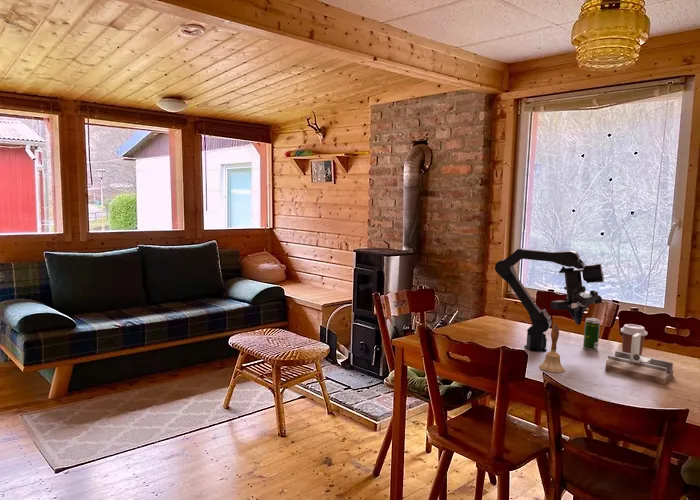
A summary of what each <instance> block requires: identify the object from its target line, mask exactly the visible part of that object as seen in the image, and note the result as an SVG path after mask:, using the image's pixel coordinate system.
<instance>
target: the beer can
mask: <svg viewBox="0 0 700 500" xmlns="http://www.w3.org/2000/svg"><path fill="white" fill-rule="evenodd" d="M600 326H601V322H600V319H598V318H595V317H586V318H585V321H584V333H583V334H584V335H583V344H582V345H583V346H582V347H583V348H584V349H585V350H587V351H598V349H599V340H600V331H601V329H600Z"/></svg>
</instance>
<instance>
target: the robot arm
mask: <svg viewBox="0 0 700 500" xmlns="http://www.w3.org/2000/svg"><path fill="white" fill-rule="evenodd" d="M521 260H530V261H531V260H532V261H540V262H542V261H543V262H549V263H555V264H557V265H561V266H562V267H561V269H559V271H558V274H564V282H565V286H563V289H564V290H565V291H566V297H565V300H562V299H559V300H558V299H557V300H552V301H551V302H550V305H549V306H550V309H551V310H556V311H563V310H566V311H567V312H568V313H569V314H570V316H571V317H572V319H573V321H574V322H575V324H576V325H577V326H580V325H581V324H582V321H583V318H584V316H583V315H584V313H585V311H586V310H587V309H588V308H590V305H594V304H595V305H597V304H598V305H599V304H602V303H603V298H602V296H601V295H599V292H598V290H596V289H593V290H590V291H589V290H588V291H587V289H586V287H585V285H583V281H584V282H586V283H587V284H591V283H593V284H595V283H596V284H597V283H604V282H605V277H604V271H603V268H602V264H601V263H596V264H586V263H585V262H584V261H583V260H582V259H581V258H580V254H579V253H578V252H577V251H576V250H571V249H570V250H561V251H560V250H559V251H550V250H549V251H547V250H538V249H537V250H536V249H526V248H523V247H520V248H517V249H516V250H515V251H514V252H513V253H511V254H510V255H509V256H507V257H506V258H504V259H501V260H498V261H497V262H496V263H495V266H494V270H495V272H496V273H497V274H498V276H500V278H501V279H502V280H504V281H505V282H507V284H508V285H509V286H510V288H511V289H512V291H513V292H514V294H515V295H516V296H517V298H518V300H519V301H520V303H521V304H522V305H523V307H524V308H525V310H526V311H527V314H528V315H529V319H530V322H531V325H530V326H529V327H528V328H527V329H526V332H527V333H526V335H527V336H526V344H524V348H526V349H528V350H529V351H530V352H546V351H548V350H547V337H546V336H547V334H545V333H546V332H547V331H549V329H550V327H551V326H552V319H551V318H552V316H551V315H550V314H549V313H548V311H547V309H546V308H543V309H541V308H540V307H539V306H538V305H537V303H536V302H535V301H534V299H533V298H532V296H531V294H530V293H529V292H528V290H527V288H525V286H524V284H523V283H522V281H521V280H520V279H519V277H518V275H517V271H516V268H515V267H514V266H516V264H518V262H520V261H521Z"/></svg>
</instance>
